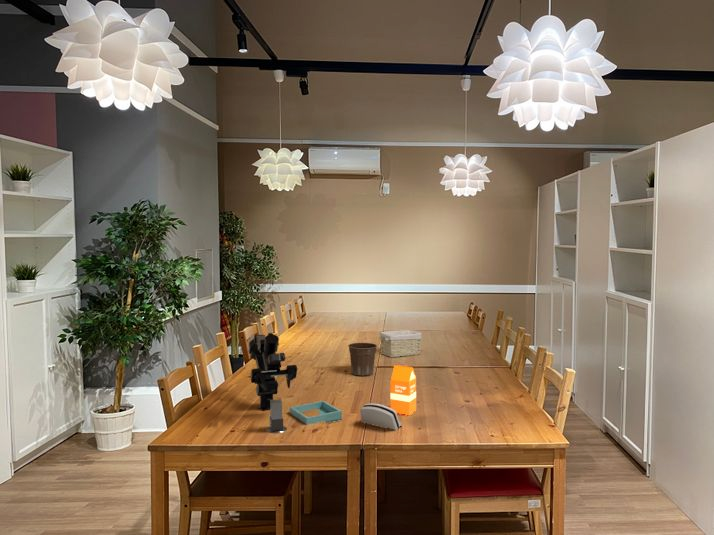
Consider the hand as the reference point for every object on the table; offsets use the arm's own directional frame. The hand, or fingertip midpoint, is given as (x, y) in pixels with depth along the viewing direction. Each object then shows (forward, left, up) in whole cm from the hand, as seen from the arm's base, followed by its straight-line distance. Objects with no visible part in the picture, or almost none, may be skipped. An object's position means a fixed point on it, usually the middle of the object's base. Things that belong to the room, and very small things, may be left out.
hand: (277, 388), depth 197 cm
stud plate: (+7, -4, -15) cm, 17 cm away
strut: (+7, -4, -14) cm, 15 cm away
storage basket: (-75, +118, -15) cm, 141 cm away
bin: (+1, +16, -15) cm, 22 cm away
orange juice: (+14, +52, -15) cm, 56 cm away
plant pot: (-48, +71, -15) cm, 88 cm away
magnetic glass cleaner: (+22, +35, -15) cm, 44 cm away
